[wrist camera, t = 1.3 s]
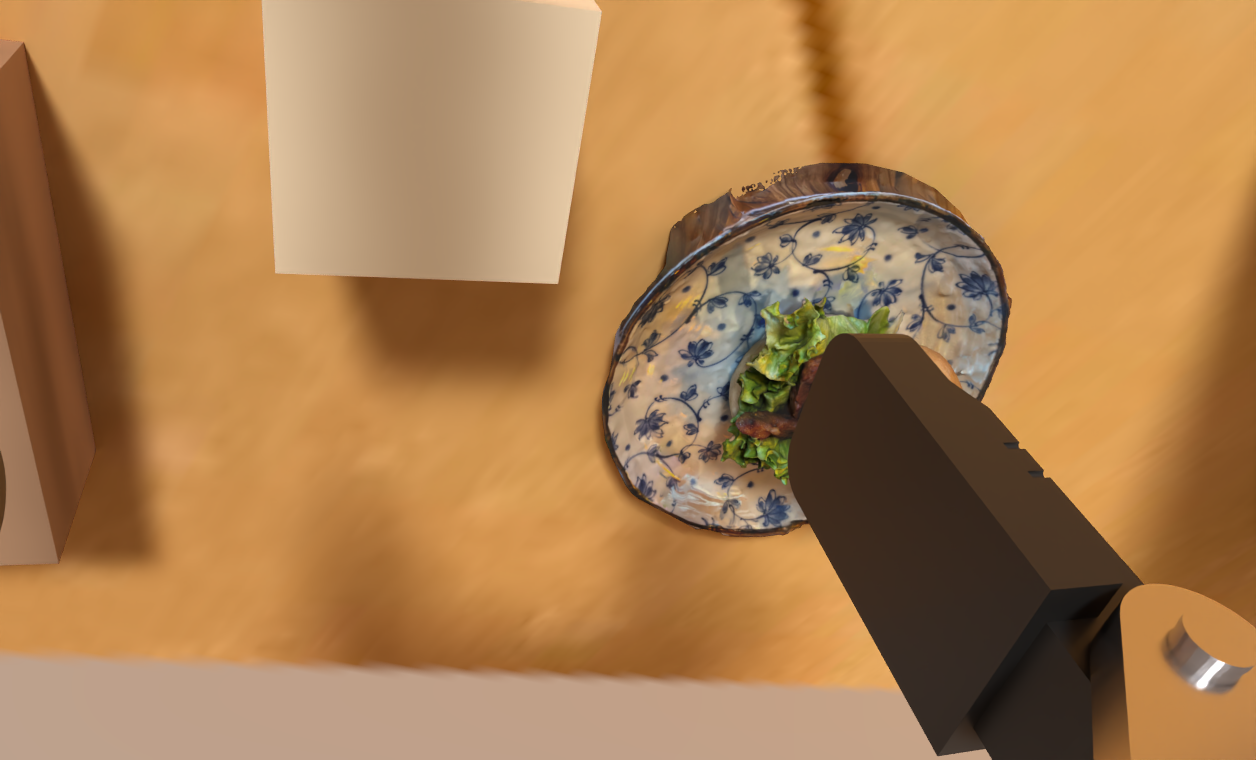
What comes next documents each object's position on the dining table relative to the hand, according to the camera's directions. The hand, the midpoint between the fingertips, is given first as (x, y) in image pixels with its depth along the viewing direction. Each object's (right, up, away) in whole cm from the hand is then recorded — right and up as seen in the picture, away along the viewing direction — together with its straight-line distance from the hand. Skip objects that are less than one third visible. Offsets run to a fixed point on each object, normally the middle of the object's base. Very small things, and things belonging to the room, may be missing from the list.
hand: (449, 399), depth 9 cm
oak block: (-3, +7, +9) cm, 12 cm away
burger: (+6, +1, +17) cm, 18 cm away
